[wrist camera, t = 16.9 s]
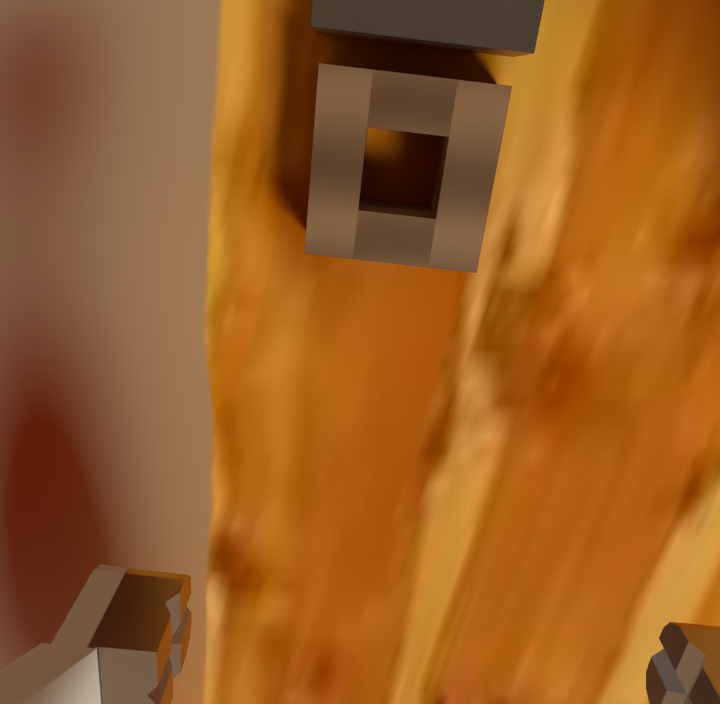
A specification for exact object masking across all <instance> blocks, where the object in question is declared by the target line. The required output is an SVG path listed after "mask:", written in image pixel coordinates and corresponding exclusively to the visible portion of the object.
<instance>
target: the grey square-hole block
mask: <svg viewBox="0 0 720 704" xmlns="http://www.w3.org/2000/svg"><path fill="white" fill-rule="evenodd" d="M543 6H544V0H312V15H311V27H312V28H313V29H314V30H316V31H317V32H318V33H319V34H328V35H336V36H344V37H353V38H361V39H369V40H378V41H386V42H394V43H402V44H411V45H419V46H427V47H436V48H444V49H452V50H461V51H469V52H477V53H486V54H494V55H502V56H510V57H515V56H521V55H527V54H533V53H534V51H535V46H536V41H537V36H538V31H539V26H540V21H541V16H542V11H543Z"/></svg>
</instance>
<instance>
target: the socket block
mask: <svg viewBox="0 0 720 704" xmlns="http://www.w3.org/2000/svg"><path fill="white" fill-rule="evenodd" d="M511 89H512V86H506V85H498V84H490V83H481V82H473V81H464V80H456V79H448V78H439V77H431V76H423V75H414V74H406V73H397V72H389V71H381V70H372V69H364V68H355V67H347V66H339V65H330V64H322V63H319V67H318V80H317V94H316V107H315V120H314V134H313V147H312V161H311V174H310V187H309V201H308V214H307V228H306V241H305V254H314V255H323V256H332V257H341V258H350V259H359V260H367V261H376V262H385V263H394V264H403V265H412V266H421V267H430V268H439V269H447V270H456V271H465V272H474V273H477V267H478V262H479V257H480V252H481V246H482V241H483V236H484V231H485V225H486V220H487V215H488V210H489V204H490V199H491V194H492V189H493V183H494V178H495V173H496V168H497V162H498V157H499V152H500V147H501V141H502V136H503V131H504V126H505V120H506V115H507V110H508V105H509V99H510V94H511ZM367 127H369V128H378V129H386V130H395V131H404V132H412V133H421V134H429V135H438V136H441V140H440V147H439V153H438V160H437V166H436V173H435V179H434V186H433V192H432V199H431V206H426V205H417V204H409V203H400V202H391V201H383V200H374V199H365V198H360V191H361V182H362V173H363V163H364V154H365V145H366V135H367Z"/></svg>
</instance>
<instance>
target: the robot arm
mask: <svg viewBox="0 0 720 704" xmlns="http://www.w3.org/2000/svg"><path fill="white" fill-rule="evenodd" d="M190 595H191V577H190V576H189V575H183V574H176V573H168V572H160V571H151V570H143V569H135V568H130V569H129V568H122V567H114V566H106V565H100V566H99V567H97V568H96V569H95V570H94V571H93V572H92V574H91V576H90V578H89V579H88V581H87V583H86V584H85V586H84V588H83V589H82V592H81V593H80V595H79V597H78V598H77V600H76V602H75V603H74V605H73V607H72V608H71V610H70V612H69V614H68V615H67V617H66V619H65V621H64V623H63V624H62V626H61V628H60V629H59V631H58V633H57V635H56V636H55V638H54V640H53V641H52V643H51V644H45V643H41V644H40V645H38V646H37V647H35V648H34V649H32V650H31V651H29V652H28V653H26V654H24V655H23V656H21V657H20V658H18V659H17V660H15V661H14V662H12V663H11V664H10V665H8V666H6V667H5V668H3V669H2V670H0V704H171V700H172V698H173V687H172V686H173V683H172V681H173V678H175V677H176V676H177V675H178V674H179V673H180V672H181V670H182V667H183V664H184V660H185V657H186V653H187V648H188V644H189V639H190V631H191V612H190V610H189V609H188V608H187V607H186V606H187V603H188V600H189V598H190ZM659 639H660V641H661V643H662V645H663V647H664V649H662V650H661V651H659V652H658V653H657V654H655V655H654V656H652V657H651V659H650V662H649V665H648V668H647V671H646V690H647V695H648V699H649V703H650V704H720V626H709V625H698V624H686V623H675V622H670V623H668V624H667V625H666V626H665V627H664V628H663V630H662V633H661V635H660V637H659Z"/></svg>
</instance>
